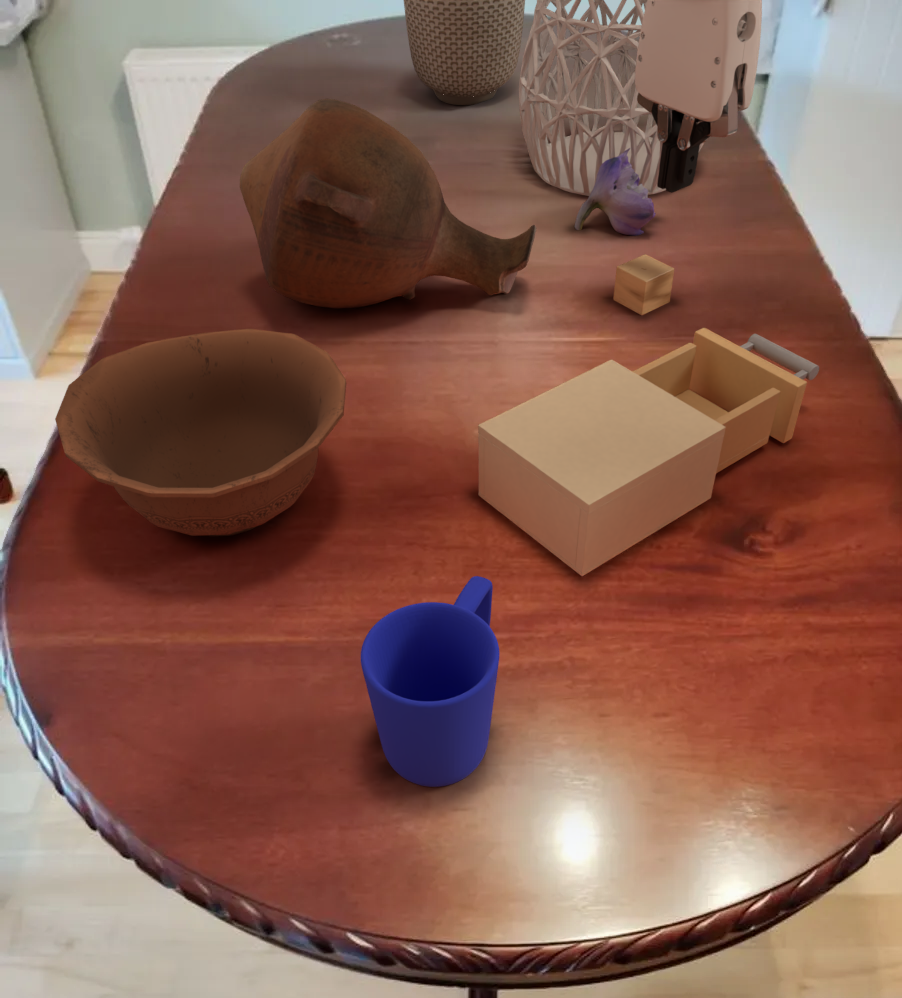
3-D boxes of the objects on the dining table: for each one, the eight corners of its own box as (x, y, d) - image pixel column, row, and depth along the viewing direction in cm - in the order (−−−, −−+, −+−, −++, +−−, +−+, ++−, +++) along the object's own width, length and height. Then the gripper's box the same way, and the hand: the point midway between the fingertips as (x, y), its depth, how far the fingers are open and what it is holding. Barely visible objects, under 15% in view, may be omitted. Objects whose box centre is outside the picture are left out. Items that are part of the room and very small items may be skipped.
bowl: (154, 418, 93) (124, 312, 85) (384, 438, 90) (375, 330, 82) (49, 583, 78) (0, 472, 70) (321, 614, 75) (302, 502, 67)
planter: (384, 101, 148) (375, -22, 137) (454, 67, 157) (452, -51, 146) (478, 126, 140) (477, -3, 129) (545, 89, 150) (551, -34, 138)
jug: (221, 325, 104) (500, 388, 104) (201, 159, 88) (533, 234, 87) (276, 204, 115) (530, 261, 115) (268, 35, 98) (565, 101, 98)
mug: (537, 684, 70) (543, 582, 63) (466, 821, 62) (464, 724, 55) (431, 649, 72) (426, 547, 65) (351, 777, 65) (334, 678, 58)
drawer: (731, 362, 96) (742, 307, 92) (829, 415, 89) (846, 359, 85) (589, 437, 88) (594, 381, 84) (685, 502, 82) (696, 445, 77)
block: (640, 290, 107) (645, 253, 104) (669, 305, 105) (674, 268, 102) (612, 303, 106) (616, 266, 103) (641, 319, 103) (645, 281, 100)
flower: (573, 194, 109) (646, 137, 109) (549, 196, 117) (618, 142, 117) (616, 266, 113) (687, 211, 112) (590, 263, 121) (656, 212, 120)
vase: (521, 130, 139) (528, -134, 118) (698, 132, 137) (737, -136, 115) (512, 207, 122) (518, -84, 101) (713, 210, 120) (762, -86, 99)
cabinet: (603, 432, 90) (611, 358, 84) (710, 502, 83) (726, 426, 77) (478, 499, 84) (477, 424, 78) (581, 580, 77) (588, 504, 71)
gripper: (815, -31, 77) (764, 201, 90) (671, -68, 85) (644, 150, 99) (752, -12, 74) (709, 226, 87) (608, -52, 82) (589, 171, 95)
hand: (674, 185), depth 93 cm, fingers closed
